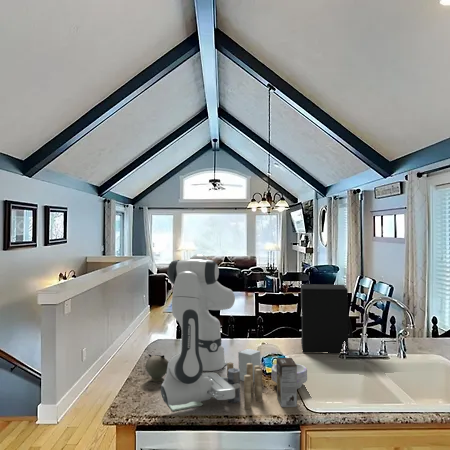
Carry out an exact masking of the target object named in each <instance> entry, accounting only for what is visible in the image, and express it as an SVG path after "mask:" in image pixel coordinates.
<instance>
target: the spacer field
mask: <svg viewBox="0 0 450 450" xmlns="http://www.w3.org/2000/svg"><path fill="white" fill-rule="evenodd" d="M226 368H227V369H226V374H227V376H226V378H228V369H232V368H234V363H233V362H227V365H226ZM261 368H262V367H261V365H260V366H258V365H256V366H254V382H253V364H252V363H247V375H244V381H243V389H244V390H243V391H244V392H243V395H244V397H243V399H244V400H243V404H244V407H243V408H244V409H245V410H250V409H252V395H253V394H254V398H255V401H256V402H258V403H261V402H263V369H261Z"/></svg>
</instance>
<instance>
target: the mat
mask: <svg viewBox="0 0 450 450" xmlns="http://www.w3.org/2000/svg"><path fill="white" fill-rule="evenodd" d="M167 406H168V407H169V409H170V410H171V412H175V411H176V412H177V411H180V410H186V409H190V408H197V407H202V406H203V403H202V401H199V402H190V403H188V404H183V405H175V406H171V405H167Z"/></svg>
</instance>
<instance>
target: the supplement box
mask: <svg viewBox="0 0 450 450" xmlns="http://www.w3.org/2000/svg"><path fill="white" fill-rule="evenodd" d="M237 353H238V354H237V356H238V357H237V358H238V369H240V381H242V382H244V375H247V363H252V364H253V383H254V366H256V365H258V366H261V350H256V349H252V348H246V349H244V350H243V349H242V350H241V351H239V352H237Z"/></svg>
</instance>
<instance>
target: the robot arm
mask: <svg viewBox="0 0 450 450" xmlns="http://www.w3.org/2000/svg"><path fill="white" fill-rule="evenodd" d="M219 275H220V270H219V265H218V263H217V262H216V261H215V260H212V259H208V258H207V256H205V255H204V254H200V253H199V254H194V255H193V256H191V257H190V258H189V259H182V260H181V259H175V260H172V261H171V262H170V263H169V264H168V267H167V278H168V280H169V282H170V283H171V284H172V285H173V290H172V297H171V311H172V316H173V318H175V320H176V321H177V323H179V326H180V330H181V341H180V342H181V343H180V344H181V345H180V346H181V347H180V353H177V354H175V355H173V356H171V357H170V358H169V360H168V365H167V373H166V374H165V377H164V378H163V379H164V381H163V382H162V383H161V385H160V396H161V398H162V401H163V402H164V403H165V404H166V405H167V406H168V405H171V406H175V405H183V404H188V403H190V402H199V401H200V402H205V401H209V400H210V399H212V398H214V399H215V400H217V401H225V400H227V401H228V399H233V398H234V397H235V389H237V388H240V389H241V383H240V384H239V383H238V382H237V383H234V384H233V385H232V384H229V383H228V378H227V377H222V376H220V375H219V374H218V373H216V372H214V371H218V370H222V369H223V368H224V367H225V366H227V363H228V361H226V359H225V348H224V347H223V346H222V337H221V322H220V320H219V319H218V318H217V317H216V316H213V315H212V314H211V313H210V311H223V310H229V309H231V308H233V307H234V304H235V300H236V296H235V293H234V291H233V290H232V289H231V288H228V287H226V286H224V285H222V284H221V283H220V282H219V281H218V279H219ZM209 310H210V311H209ZM203 371H204V372H203ZM205 371H206V372H205Z"/></svg>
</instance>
